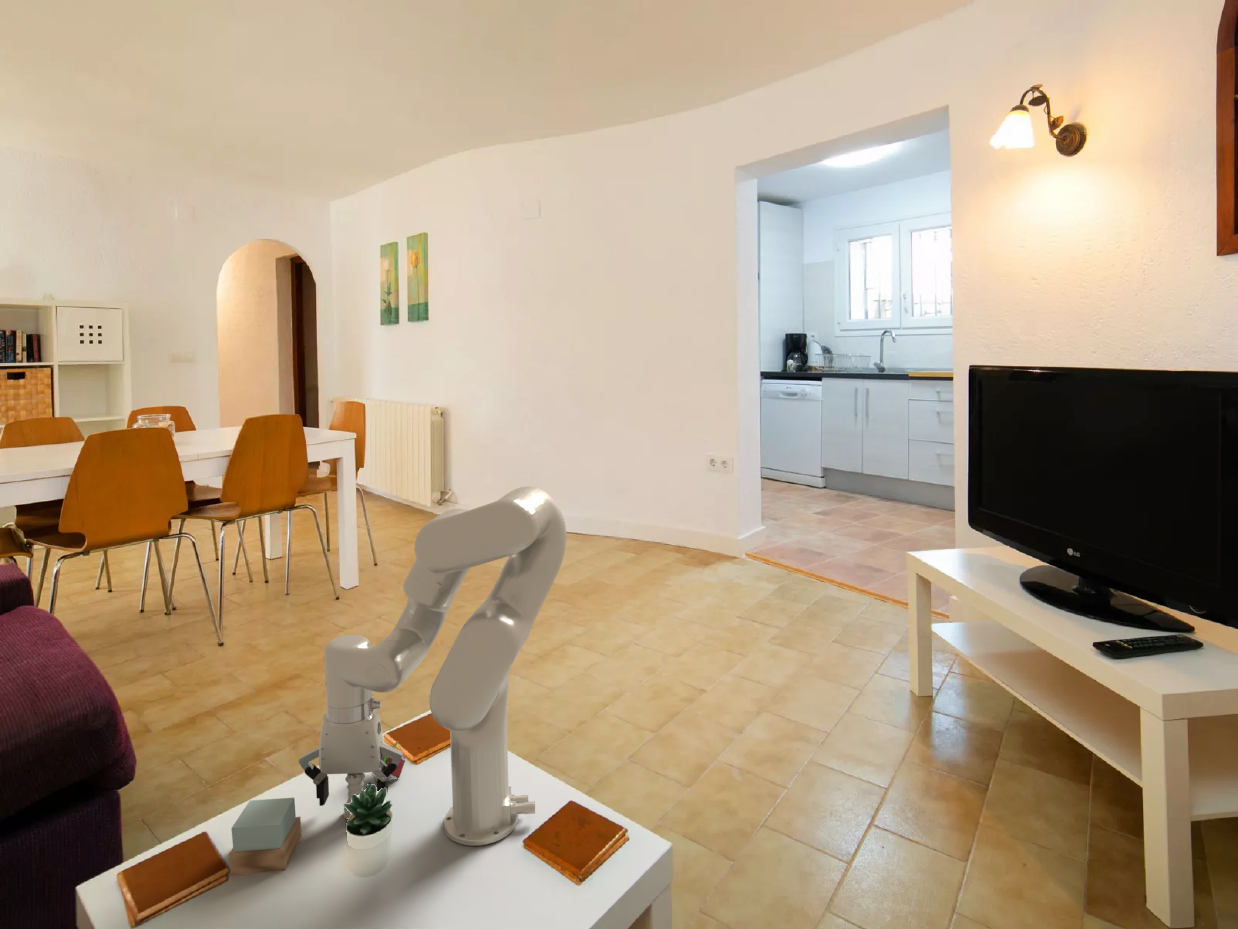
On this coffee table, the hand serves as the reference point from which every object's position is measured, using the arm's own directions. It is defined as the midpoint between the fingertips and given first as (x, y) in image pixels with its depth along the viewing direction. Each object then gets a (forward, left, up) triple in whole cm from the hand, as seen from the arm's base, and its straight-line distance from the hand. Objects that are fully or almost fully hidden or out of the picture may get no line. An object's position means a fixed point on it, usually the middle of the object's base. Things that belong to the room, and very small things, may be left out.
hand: (352, 799), depth 123 cm
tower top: (+11, +9, +1) cm, 15 cm away
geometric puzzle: (-4, -11, -3) cm, 12 cm away
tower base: (+11, +9, -3) cm, 15 cm away
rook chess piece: (-1, 0, -3) cm, 3 cm away
